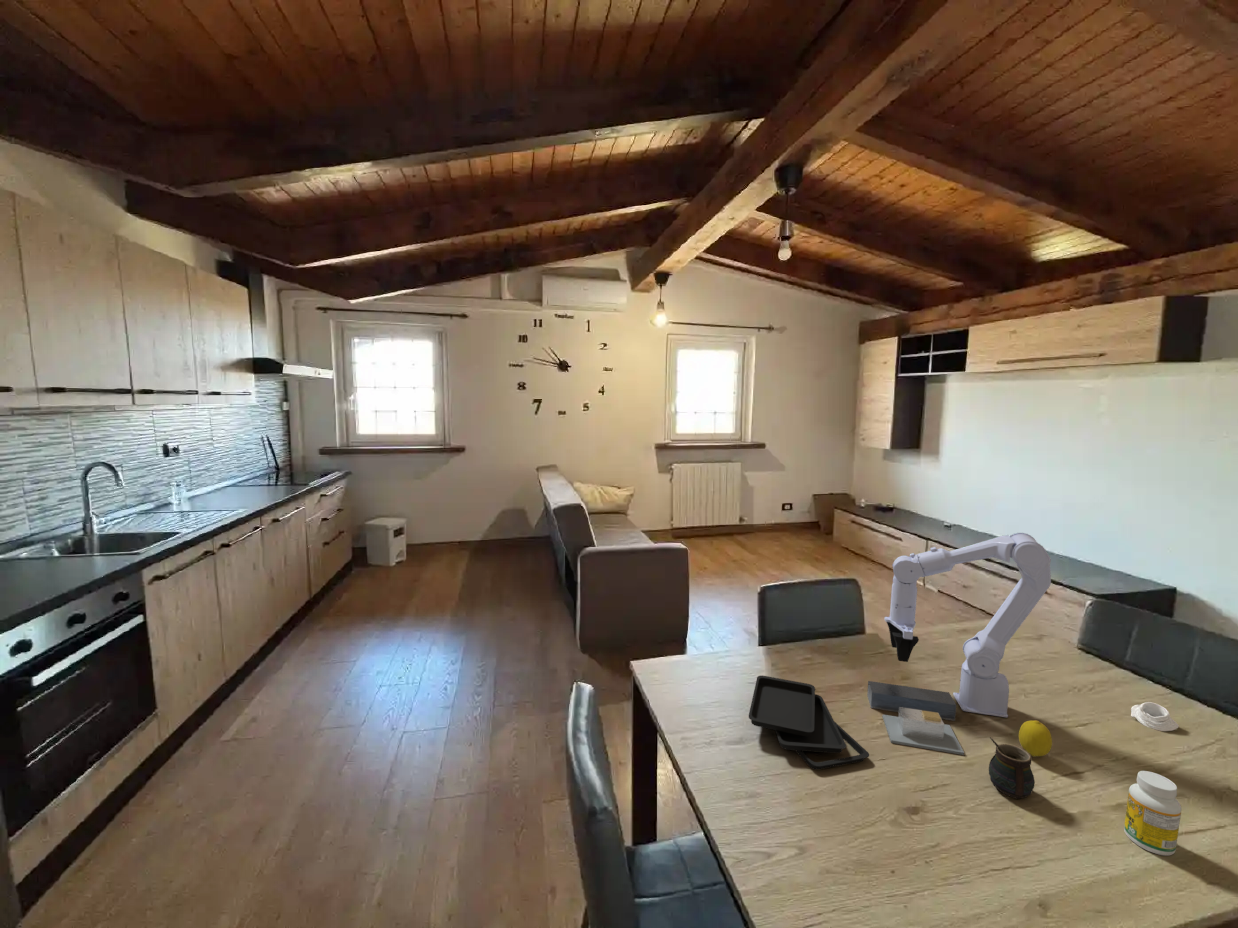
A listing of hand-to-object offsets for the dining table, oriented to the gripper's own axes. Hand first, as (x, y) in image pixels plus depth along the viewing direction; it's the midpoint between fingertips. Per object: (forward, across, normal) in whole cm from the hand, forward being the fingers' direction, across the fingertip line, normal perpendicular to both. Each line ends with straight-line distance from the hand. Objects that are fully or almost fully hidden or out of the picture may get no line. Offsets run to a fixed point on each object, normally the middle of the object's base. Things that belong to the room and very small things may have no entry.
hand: (899, 653), depth 137 cm
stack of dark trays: (+10, +26, -26) cm, 39 cm away
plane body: (+9, +9, +1) cm, 13 cm away
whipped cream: (+10, -1, +54) cm, 55 cm away
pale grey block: (+9, +20, +1) cm, 22 cm away
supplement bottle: (+10, +41, +31) cm, 52 cm away
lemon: (+10, +21, +22) cm, 32 cm away
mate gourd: (+10, +34, +13) cm, 38 cm away
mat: (+9, +20, +1) cm, 22 cm away
